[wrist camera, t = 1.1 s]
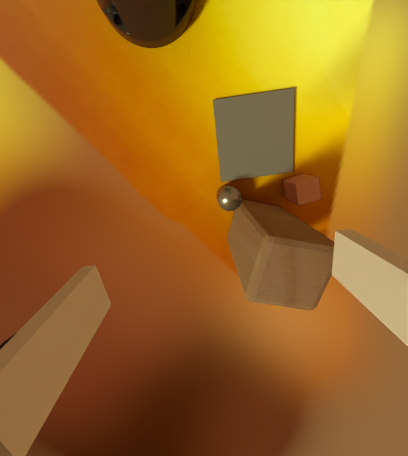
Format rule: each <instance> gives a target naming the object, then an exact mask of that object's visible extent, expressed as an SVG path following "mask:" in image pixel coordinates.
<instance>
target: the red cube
mask: <svg viewBox="0 0 408 456" xmlns="http://www.w3.org/2000/svg"><path fill="white" fill-rule="evenodd" d="M282 181H283V187H284V192H285V198H286V199H287V200H289V201H291V202H293V203H295V204H297V205H299V206H300V205H303V204H306V203H310V202H313V201H316V200H319V199H321V192H320V183H319V177H317V176H312V175H307V174H299V175H296V176H293V177H290V178H287V179H283V180H282Z"/></svg>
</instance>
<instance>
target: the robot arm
mask: <svg viewBox="0 0 408 456" xmlns="http://www.w3.org/2000/svg"><path fill="white" fill-rule="evenodd" d="M97 2H98V4H99V6H100V8H101V10H102V11H103V13H104V14H105V16H106V17H107V19H108V20H109V22H110V23H111V25H112V26H113V27H114V28H115V30H116V31H117V32H118V33H119V34H120V35H121V36H123V37H124V38H125V39H127V40H128V41H130V42H131V43H133V44H136V45H138V46H141V47H146V48H158V47H162V46H165V45H168V44H170V43H171V42H173V41H174V40H176V39H177V38H178V37H179V36H180V35H181V34H182V33H183V32H184V30H185V29H186V28H187V26H188V24H189V23H190V20H191V18H192V16H193V13H194V10H195V6H196V2H197V0H97ZM332 275H333V276H334V277H335V278H336V279H337V280H338V281H339V282H340V283H341V284H342V285H343V286H344V287H345V288H347V289H348V290H349V291H350V292H351V293H352V294H353V295H354V296H355V297H356V298H357V299H358V300H359V301H360V302H361V303H362V304H364V305H365V306H366V307H367V308H368V309H369V310H370V311H371V312H372V313H373V314H374V315H375V316H376V317H377V318H378V319H379V320H380V321H382V322H383V323H384V324H385V325H386V326H387V327H388V328H389V329H390V330H391V331H392V332H393V333H394V334H395V335H396V336H397V337H398V338H399V339H401V340H402V341H403V342H404V343H405V344H406V345H407V346H408V259H407V258H405V257H403V256H401V255H399V254H397V253H396V252H394V251H391V250H390V249H388V248H386V247H384V246H382V245H380V244H378V243H377V242H375V241H373V240H371V239H369V238H367V237H365V236H363V235H361V234H359V233H357V232H356V231H354V230H352V229H344V230H337V231H336V233H335V243H334V254H333V264H332ZM110 306H111V303H110V300H109V298H108V295H107V293H106V291H105V288H104V285H103V283H102V280H101V278H100V275H99V273H98V270H97V268H96V265H94V266H87V267H82V268H81V269H80V270H79V271H78V272H77V273H76V274H75V275H74V276H73V277H72V278H71V279H70V280H69V281H68V282H67V283H66V284H65V285H64V286H63V287H62V288H61V289H60V290H59V291H58V292H57V293H56V294H55V295H54V296H53V297H52V298H51V299H50V300H49V301H48V302H47V303H46V304H45V305H44V306H43V307H42V308H41V309H40V310H39V311H38V312H37V313H36V314H35V315H34V316H33V317H32V318H31V319H30V320H29V321H28V322H27V323H26V324H25V325H24V326H23V328H21V329H20V330H19V331H18V332H17V333H16V334H14V335H13V336H11V337H10V338H9V339H7V340H6V341H5V342H4V343H2V345H0V456H25V455H26V454H27V452H28V450H29V448H30V447H31V445H32V443H33V441H34V439H35V437H36V436H37V434H38V432H39V431H40V429H41V427H42V425H43V424H44V422H45V420H46V418H47V417H48V415H49V413H50V411H51V409H52V408H53V406H54V404H55V402H56V401H57V399H58V397H59V395H60V394H61V392H62V390H63V388H64V387H65V385H66V383H67V381H68V380H69V378H70V376H71V374H72V373H73V371H74V369H75V367H76V365H77V363H78V362H79V360H80V358H81V357H82V355H83V353H84V351H85V350H86V348H87V346H88V344H89V343H90V341H91V339H92V337H93V336H94V334H95V332H96V330H97V329H98V327H99V325H100V323H101V322H102V320H103V318H104V316H105V314H106V313H107V311H108V309H109V307H110Z"/></svg>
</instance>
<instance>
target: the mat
mask: <svg viewBox="0 0 408 456" xmlns="http://www.w3.org/2000/svg"><path fill="white" fill-rule="evenodd" d="M294 90H295V88H290V89H283V90H277V91H270V92H263V93H256V94H250V95H243V96H236V97H229V98H223V99H216V100H213V106H214V116H215V125H216V135H217V145H218V155H219V165H220V175H221V182H223V181H230V180H237V179H245V178H252V177H259V176H266V175H274V174H281V173H288V172H293V142H294Z"/></svg>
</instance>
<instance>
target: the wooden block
mask: <svg viewBox="0 0 408 456" xmlns="http://www.w3.org/2000/svg"><path fill="white" fill-rule="evenodd" d="M227 240H228V244H229V247H230V250H231V253H232V256H233V259H234V262H235V265H236V268H237V272H238V275H239V278H240V281H241V284H242V287H243V290H244V293H245V296H246V298H247V299H248V300H249V301H252V302H257V303H263V304H270V305H277V306H284V307H291V308H298V309H304V310H313V309H314V308H316V307H317V305H318V302H319V300H320V298H321V296H322V294H323V292H324V290H325V288H326V286H327V284H328V281H329V279H330V277H331V275H332V264H333V254H334V243H335V242H333V241H332V240H330V239H329V238H327V237H326V236H324V235H323V234H321V233H320V232H318V231H317V230H315V229H314V228H312V227H310V226H309V225H307V224H306V223H304V222H303V221H301V220H300V219H298V218H297V217H295V216H294V215H292V214H291V213H289V212H288V211H286V210H285V209H283V208H282V207H280V206H275V205H270V204H264V203H259V202H254V201H249V200H243V199H242V203H241V205H240V206H239V207H238V208H237V209H236V210H235V211H234V215H233V219H232V223H231V227H230V231H229V235H228V238H227Z"/></svg>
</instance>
